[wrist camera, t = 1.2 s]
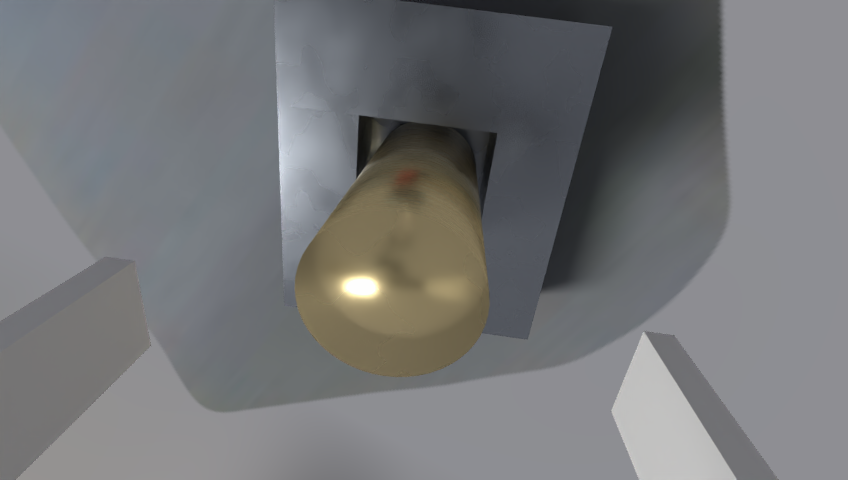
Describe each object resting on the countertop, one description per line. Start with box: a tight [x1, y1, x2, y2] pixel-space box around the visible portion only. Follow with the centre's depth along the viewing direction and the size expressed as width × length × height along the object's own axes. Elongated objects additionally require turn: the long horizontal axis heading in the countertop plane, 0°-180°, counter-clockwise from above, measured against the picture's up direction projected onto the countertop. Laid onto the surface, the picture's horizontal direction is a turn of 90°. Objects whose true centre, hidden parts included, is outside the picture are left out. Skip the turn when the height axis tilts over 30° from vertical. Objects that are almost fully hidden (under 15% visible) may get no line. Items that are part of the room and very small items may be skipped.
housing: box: [274, 0, 612, 339], centre depth 23 cm, size 16×14×4 cm
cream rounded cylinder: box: [295, 122, 490, 377], centre depth 18 cm, size 6×6×13 cm
